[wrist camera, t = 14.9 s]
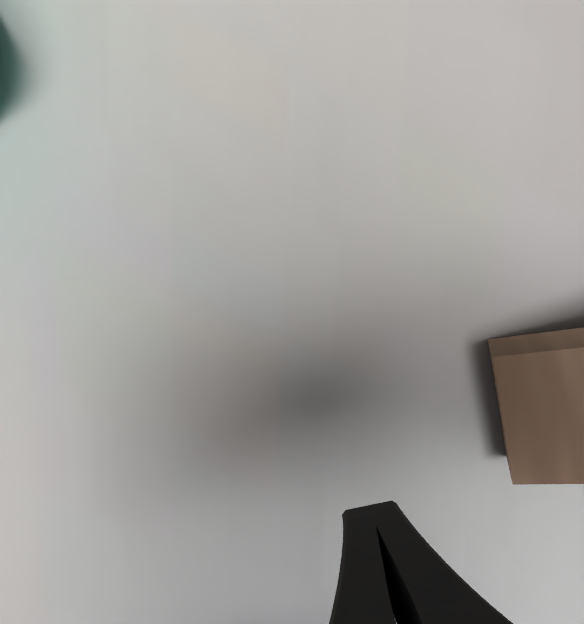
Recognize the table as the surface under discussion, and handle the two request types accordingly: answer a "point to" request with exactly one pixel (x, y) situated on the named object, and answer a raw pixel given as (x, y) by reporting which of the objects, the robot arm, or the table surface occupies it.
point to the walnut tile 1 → (541, 404)
